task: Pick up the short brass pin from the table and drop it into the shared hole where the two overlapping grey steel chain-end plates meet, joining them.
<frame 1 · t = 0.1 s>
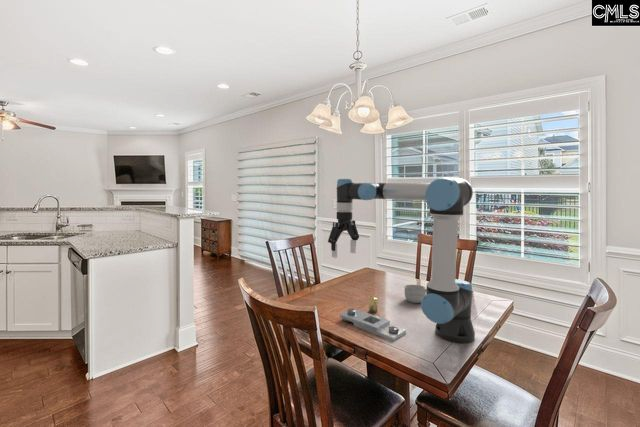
hand: (343, 255, 157), 28 cm above the table, fingers open, 13 cm apart
brass pin: (372, 311, 159), on the table
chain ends: (371, 326, 142), on the table
teacup: (417, 302, 172), on the table
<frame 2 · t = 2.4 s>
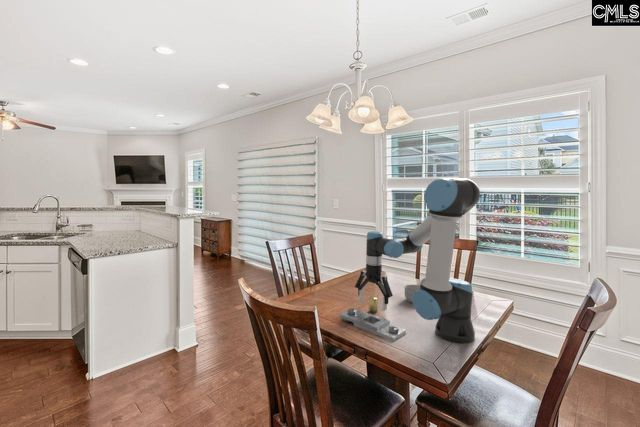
hand: (372, 306, 159), 3 cm above the table, fingers open, 13 cm apart
nothing on the table moved.
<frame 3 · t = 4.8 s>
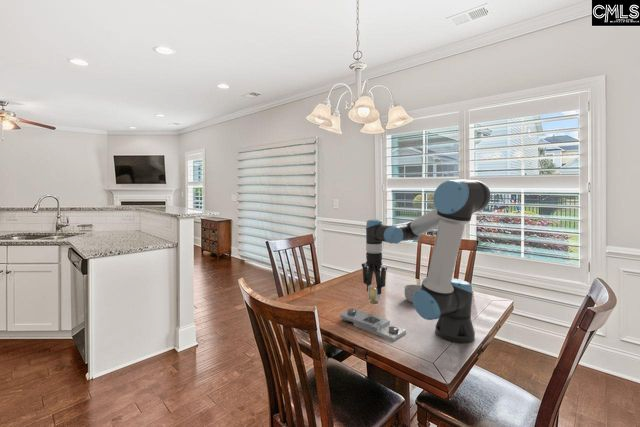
hand: (374, 299, 157), 6 cm above the table, fingers closed on brass pin, 4 cm apart
brass pin: (373, 302, 158), point 5 cm above the table, touching gripper
everything else where it was.
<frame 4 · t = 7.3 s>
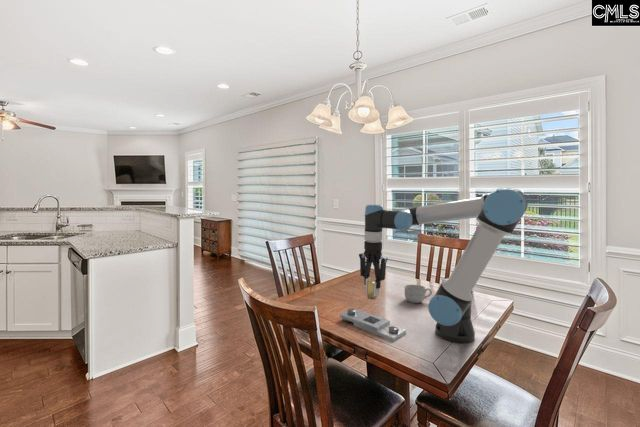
hand: (372, 293, 141), 15 cm above the table, fingers closed on brass pin, 4 cm apart
brass pin: (371, 297, 141), point 13 cm above the table, touching gripper
everything else where it was.
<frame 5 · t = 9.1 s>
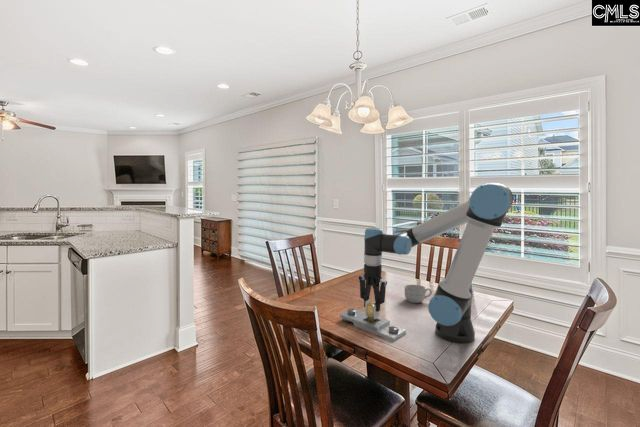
hand: (371, 316, 142), 5 cm above the table, fingers closed on brass pin, 4 cm apart
brass pin: (371, 320, 142), point 3 cm above the table, touching gripper
everything else where it was.
when the fingers open (5 cm above the table, at t = 10.2 s): brass pin drops 3 cm, resting in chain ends.
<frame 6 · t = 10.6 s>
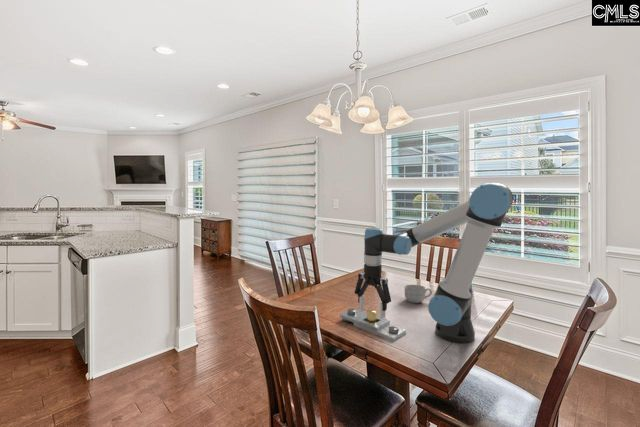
hand: (371, 313, 142), 6 cm above the table, fingers open, 10 cm apart
brass pin: (371, 326, 142), resting in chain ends
everything else where it was.
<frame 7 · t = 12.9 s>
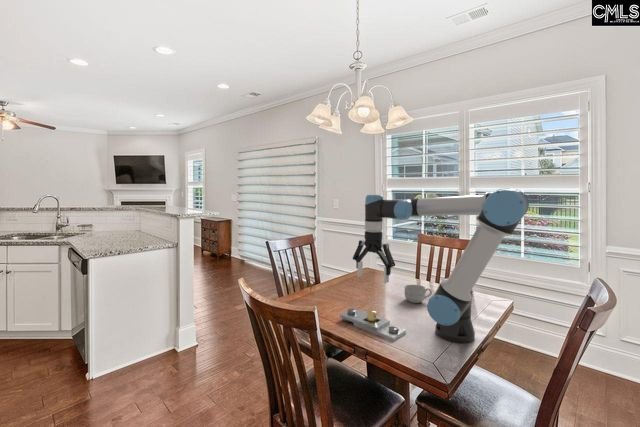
hand: (372, 279, 141), 21 cm above the table, fingers open, 13 cm apart
nothing on the table moved.
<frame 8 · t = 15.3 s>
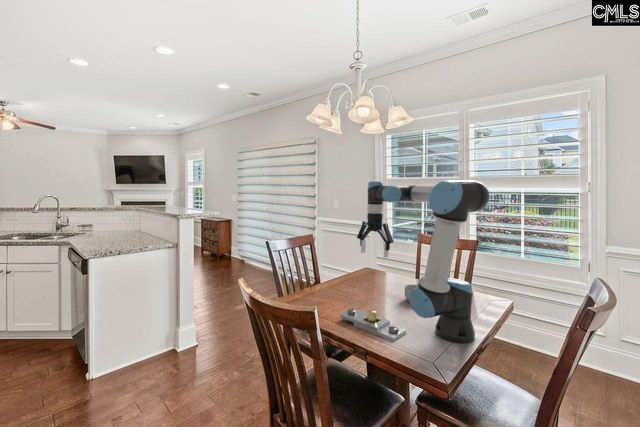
hand: (374, 254, 163), 27 cm above the table, fingers open, 13 cm apart
nothing on the table moved.
at the end: brass pin 0.0 cm off-centre on the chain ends, point 0.0 cm above the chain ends's base; brass pin tilted 0°; the gripper is holding nothing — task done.
